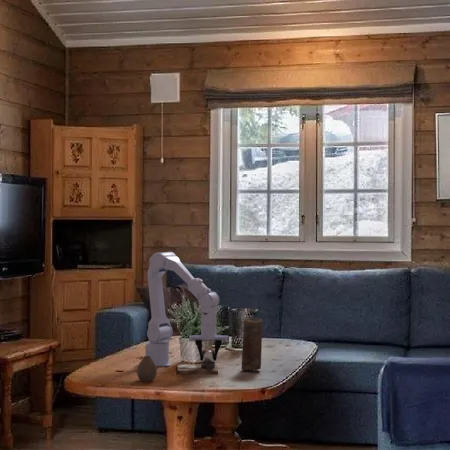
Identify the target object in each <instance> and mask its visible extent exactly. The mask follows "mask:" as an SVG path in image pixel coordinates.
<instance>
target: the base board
mask: <svg viewBox="0 0 450 450" xmlns="http://www.w3.org/2000/svg"><path fill="white" fill-rule="evenodd" d="M177 375H219V369H218V365H217V364H216V362H215V361H214V363H202V361H201V362H200V363H196V364H195V363H193V364H192V363H177Z"/></svg>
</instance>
